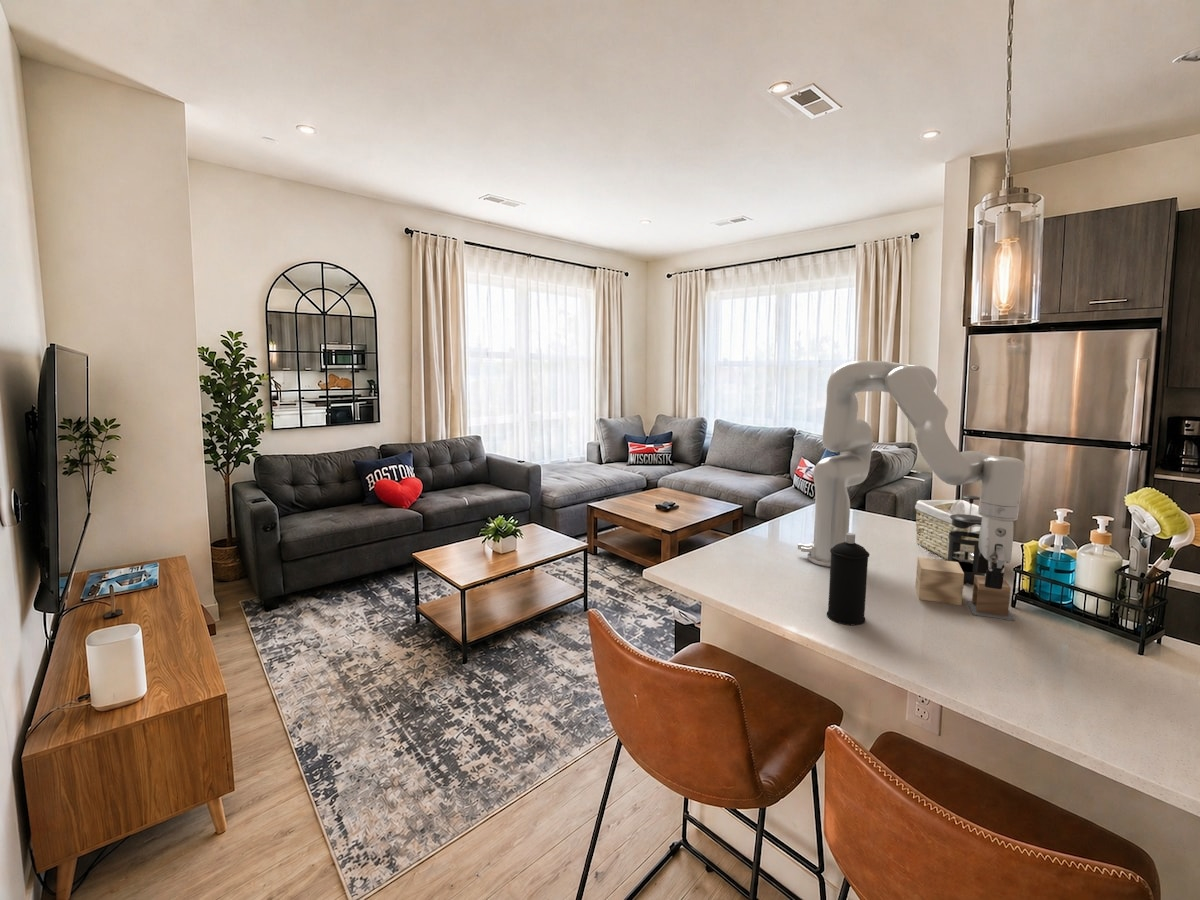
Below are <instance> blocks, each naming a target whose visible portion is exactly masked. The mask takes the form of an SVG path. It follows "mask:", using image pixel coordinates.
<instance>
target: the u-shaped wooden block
mask: <svg viewBox="0 0 1200 900" xmlns="http://www.w3.org/2000/svg"><path fill="white" fill-rule="evenodd" d="M985 579H986V575H985V576H980V575H974V585H973V588H972V589H973V590H972V600H971V601H972V603H973V604H976V612H980V613H987V614H994V615H1001V616H1008V610H1010V609H1009V608H1010V607H1009V606H1010V596H1011V586H1010V584H1009V582H1008V581H1007V580H1006V578H1004V577H1003V584H1002V589H994V588H988V587H985Z"/></svg>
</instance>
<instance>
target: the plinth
mask: <svg viewBox="0 0 1200 900" xmlns="http://www.w3.org/2000/svg"><path fill="white" fill-rule="evenodd" d="M963 582H964V572H963V571H962V569H961V567H960V565H959V563H958V562H953V561H948V560H944V559H943V560H942V559H934V558H927V557H919V556H917V560H916V576H915V591H916V594H917V597H918V600H922V601H929V602H935V603H936V602H937V603H941V604H942V603H943V604H950V605H957V606H962V602H963V592H964V583H963Z"/></svg>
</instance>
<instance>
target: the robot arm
mask: <svg viewBox="0 0 1200 900" xmlns="http://www.w3.org/2000/svg"><path fill="white" fill-rule="evenodd" d="M937 385H938V383H937V376H936V374H935V372H934V371H933V370H932V369H930V368H929V367H927V366H923V365H917V364H907V363H901V362H900V363H899V362H893V361H884V360H853V361H849V362H846V363H843V364H841V365H839V366H838V367H836V368H835V369H834V370H833V371H832V372H831V374H830V375H829V378H828V380H827V385H826V401H825V403H826V404H825V410H824V421H823V428H822V444H823V445H822V446H823V447H824V448H825V449H826V450H827V451H828V452H833V453H840V454H838V455H833V456H832V455H831V456H828V457H825V458H822V459H820V460H819V461H818V462H817V463H816V465H815V467H814V468H813V476H812V478H813V484H814V493H815V498H814V499H815V501H814V502H815V503H814V504H815V505H814V523H813V524H814V526H813V541H812V543H808V544H806V543H805V544H804V543H799V542H798V543H797V550H800V552H802V553H806V552H807V557H806V558H807V560H808V561H809V562H811V563H813V564H815V565H817V566H818V565H819V566H822V567H826V568H827V567H829V568H830V566H831V552H830V549H831V548H833V547H834V546H835V545H836V544H839V543H842V542H846V533H850V519H851V518H850V517H851V515H850V514H851V501H850V500H851V499H850V496H849V493H848V489H847V488H848V487H853V486H856V485H860V484H862V483H863V482H864V481H865V480H866V479H867V477H868V474H869V472H870V468H871V467H870V466H871V461H872V460H871V459H872V458H871V457H872V451H873V443H874V442H873V441H874V434H873V431H872V427H871V425H869V423H868V422H867V421H866V420H864V419H862V418H858V411H859V402H858V399H857V394H858V393H860V392H884V393H889V394H890V396H891V398H892V399H893V401H894V402H895V403H896V405H897V406H898V407H899V409H900V410H901V412H902V413H903V414H904V416H905V418H907V420H908V422H909V423H910V424H911V426H912V427H913V428H914V434H915V435H914V436H915V439H916V443H917V446H918V449H919V450H918V451H919V452H920V454H921V456H922V457H923V459H924V460H925V462H926V463H927V465H928V467H929V468H930V469H931V470H932V472H933V473H934V474H935V476H937V478H938V479H940V480H941V481H942V482H943V483H945V484H948V485H950V486H962V485H967V484H969V483H971V484H972V483H977V482H980V483H981V484H980V485H981V486H980V492H979V493H980V495H979V497H980V500H979V501H978V506H979V508H978V514H979V515H981V516H982V522H981V528H980V535H979V550H980V551H979V556H978V563H977V572H979V573H985V576H986V579H985V587H988V588H994V589H1002V584H1003V578H1004V576H1005V563H1006V564H1010V563H1011V562H1012V553H1013V543H1014V521H1017V520H1018V518H1019V517H1018V516H1019V511H1020V503H1021V498H1022V497H1021V496H1022V489H1023V483H1024V477H1025V470H1026V469H1025V467H1026V465H1025V462H1024V461H1023V460H1021V459H1019V458H1018V457H1017V458H1016V457H1010V456H1001V455H993V454H989V453H985V452H982V451H977V450H965V451H959V450H958V448H957V447H956V446H955V445H954V443H953V441H952V440H951V438H950V437H949V435H948V433H947V431H946V421H947V418H948V415H949V409H948V408H947V406H946V405H945V404H944V402H943V401H942V399H941V398H940V397H939V396H938V395H937V394H936V392H935V389H936V387H937ZM991 557H992V558H991ZM993 557H996V558H993ZM995 562H996V563H995Z"/></svg>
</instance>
